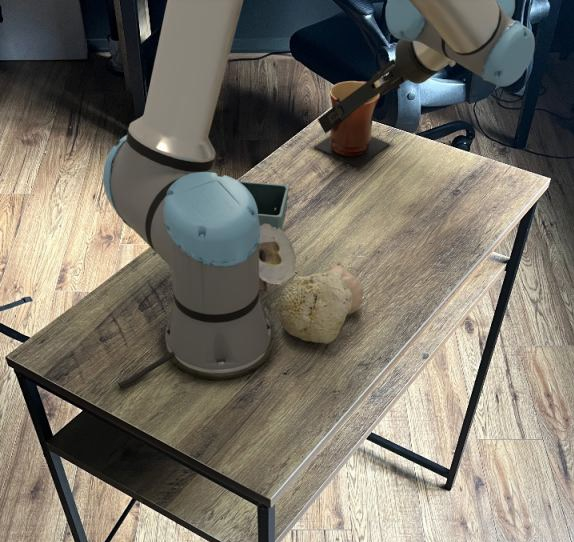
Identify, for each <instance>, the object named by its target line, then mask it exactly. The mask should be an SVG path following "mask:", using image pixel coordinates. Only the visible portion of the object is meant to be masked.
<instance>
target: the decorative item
mask: <svg viewBox="0 0 574 542" xmlns="http://www.w3.org/2000/svg"><path fill="white" fill-rule="evenodd" d="M351 304H352V293H351V292H350V290H349V288H347V287H346V285H345V283H344V281H343V279H342V277H341V276H340V275H339V274H337V273H334V272H331V271H328V270H327V271H324V272H321V273H314V274H308V275H307V276H296V277H294V278H293V279H292V280H289V282H288V283H287V284H286V285H284V287H283V289H282V290H281V293H280V296H279V302H278V311H279V316H280V321H281V324H282V326H283V328H284V330H285V331H286V333H288V334H289V335H291V336H293V337H296V338H298V339H300V340H302V341H305V342H313V343H319V344H330V343H332V342H333V341H334V340H336V338H337V337H338V336H339V333H340V331H341V328H342V326H343V324H344V322H345V320H346V317H347V315H348V313H349V312H350V310H351Z"/></svg>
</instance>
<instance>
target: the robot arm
mask: <svg viewBox="0 0 574 542" xmlns="http://www.w3.org/2000/svg"><path fill="white" fill-rule="evenodd" d="M386 1H387V2H386V5H385V11H384V12H385V14H384V15H385V22H386V26H387V29H388V31H389V32H390V34H391V35H392V36H393V37H394V38H395V39H398V41H397V43H396V45H395V48H394V49H395V50H394V55H395V56H394V58H392V59H391V60H389V61H388V62H387V63H385V64H384V66H383V67H382V68H381V69H379V70H378V71H377V72H375V73H374V74H372V77H371V78H370V79H369V80H368V81H365V82H366V83H365V84H364V85H362V86H361V87H360V88H358V89H357V90H355V91H354V92H353V93H351V94H350V95H349V96H347V97H346V98H345V99H343V100H342V101H341V100H340V99H339V98H338V99H336V102H337V103H336V104H335V105H334V107H333V108H332V107H331V108H330V109H329V110H328V111H326V112H325V113H324V114H322V115H321V116H320V117H319V118H317V122H318V123H319V125H320V126H321V128H322V130H323V132H324V134H327V133H330V131H331V129H333V128H334V127H335V126H337V125H338V124H339V123H341V122H342V121H343V120H345V119H346V118H347V117H349V116H350V114H351V113H353V112H354V111H355V110H357V109H358V108H360V107H361V106H363V105H364V104H365V103H367V102H368V101H370V100H371V99H373V98H374V97H375V96H377V95H378V94H380V97H379V99H380V98H382V97H383V96H384V95H386V94H387V93H389V92H390V91H391V90H392V89H393V92H396V91H398V90H399V89H400V88H401V85H403V84H404V83H405V82H407V81H409V82H411V83H413V84H417V85H418V84H423V83H425V82H427V81H428V80H429V79H430V78H432V77H433V76H435V75H436V74H438V73H439V72H440V71H441V70H443V69H444V68H445V67H447V66H448V65H449V67H451V68H453V67H454V66H455V65H456V63H457V64H458V65H460V66H462V67H463V68H465V69H467V70H468V71H470V72H472V73H473V74H475V75H477V76H479V78H480V77H481V79H482V80H483V81H485V82H489V83H492V84H494V85H495V86H498V87H508V86H510V85H512V84H514V83H516V82H517V81H518V80H519V79H520V78H521V77H522V76H523V74H524V72H525V71H526V70H527V68H528V67H529V66H530V63H531V62H532V59H533V56H534V53H535V47H536V46H535V44H536V43H535V36H534V33H533V32H532V30H531V29H530V28H528V27H527V26H525V25H524V24H522V22H521V21H519V20H514V19H513V18H512V17H513V15H514V13H515V9H516V0H386ZM243 3H244V0H167V2H166V5H165V11H164V15H163V20H162V24H161V30H160V34H159V38H158V39H159V40H158V44H157V49H156V53H155V54H156V55H155V57H154V62H153V68H152V73H151V77H150V83H149V87H148V91H147V97H146V102H145V107H144V110H143V111H144V112H143V115H142V116H140V117H139V118H137V119H135V120H133V121H131V122H130V123H129V126H128V129H127V134H126V135H124V136H122V137H121V138H120V139H119V143H118V144H117V145H113V146H112V147H111V149H110V151H109V153H108V155H107V157H106V160H105V162H104V167H103V175H102V180H103V188H104V192H105V195H106V198H107V200H108V203H109V204H110V206H111V207H112V209H114V211H115V213H116V215H117V216H118V217H119V218H120V219H121V220H122V222H123V223H124V224H125V225H126V226H127V227H129V228H130V229H132V230H133V231H134V233H136V234H137V235H138V237H140V238H141V239H142V240H143V242H145V243H146V244H147V245H148V246H149V247H150V248H151V249H152V250H153V251H154V252H155V253H156V254H157V255H158V256H159V257H160V258H161V259H162V260H163V261H164V262H165V264H167V266H168V268H169V270H170V275H171V284H172V290H173V291H172V294H173V303H172V307H171V310H170V314H169V318H168V322H167V325H166V328H165V333H164V337H165V347H166V348H165V349H166V352H167V354H166V355H164V356H162V357H161V358H159V359H157V360H155V361H153V363H151V364H149V365H147V366H146V367H145V368H143V369H142V370H140V371H138V372H137V373H135V374H133V375H132V376H129V377H128V378H126V379H125V380H122V381H120V382H118V387H119V389H123V388H125V387H128V386H129V385H131V384H134V383H135V382H137V381H139V380H140V379H142V378H143V377H145V376H146V375H148V374H149V373H151V372H152V371H154V370H156V369H158V368H159V367H160V366H162V365H164V364H166V363H167V362H169V361H171V362H172V363H173V364H174V365H175V366H176V367H177V368H178V369H180V370H181V371H183V372H184V373H187V374H189V375H191V376H194V377H197V378H201V379H207V380H230V379H235V378H239V377H242V376H245V375H248V374H250V373H252V372H253V371H255V370H257V369H258V368H260V367H261V366H262V365H263V364H264V363H265V362H266V360H267V359H268V358H269V356H270V354H271V351H272V349H273V329H272V328H273V327H272V325H271V322H270V320H269V318H268V316H267V313H266V311H265V308H266V310H267V311H268V313H269V314H270V315H272V306H271V305H270V304H269V302H268V301H267V299H266V298H265V297H264V298H263V299H264V300H263V304H262V301H261V299H260V292H259V238H260V223H259V218H258V210H257V205H256V202H255V200H254V198H253V196H252V194H251V193H250V192H249V190H248V189H247V188H246V187H245V186H244V185H242V184H241V183H240V182H238V181H239V180H237V179H235V178H233V177H231V176H229V175H222V176H219V175H218V173H217V172H212V169H213V165H214V161H215V158H216V154H217V153H216V150H215V148H214V146H213V144H212V142H211V140H210V138H209V134H210V131H211V127H212V123H213V120H214V116H215V111H216V108H217V104H218V100H219V96H220V92H221V88H222V85H223V80H224V77H225V73H226V69H227V65H228V62H229V57H230V53H231V49H232V47H233V42H234V38H235V34H236V30H237V26H238V22H239V19H240V15H241V11H242V8H243V7H242V6H243ZM264 307H265V308H264Z"/></svg>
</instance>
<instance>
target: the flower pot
mask: <svg viewBox="0 0 574 542" xmlns="http://www.w3.org/2000/svg"><path fill="white" fill-rule="evenodd" d="M237 181H238V182H240V183H241V184H242V185H244V186H245V187H246V188H247V189H248V190H249V192H250V193H251V194H252V196H253V198H254V200H255V202H256V205H257V210H258V218H259V223H260V226H261V225H263V224H264V223H266V224H270V225H271V226H272V227H276V229H278V228H280V229H281V230H282V231H283V228H284V223H285V218H286V213H287V207H288V206H287V205H288V199H289V190H290V187H289V185H287V184H280V183H266V182H256V181H255V182H254V181H245V180H237ZM274 208H276V211H275V209H274ZM273 238H274V237H273ZM274 239H275V238H274Z"/></svg>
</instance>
